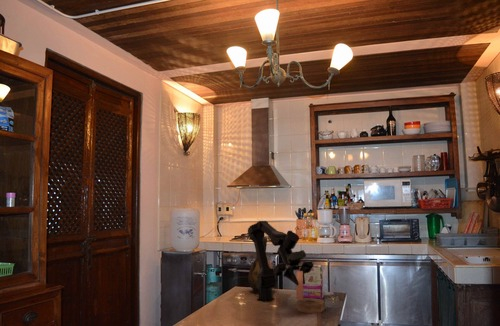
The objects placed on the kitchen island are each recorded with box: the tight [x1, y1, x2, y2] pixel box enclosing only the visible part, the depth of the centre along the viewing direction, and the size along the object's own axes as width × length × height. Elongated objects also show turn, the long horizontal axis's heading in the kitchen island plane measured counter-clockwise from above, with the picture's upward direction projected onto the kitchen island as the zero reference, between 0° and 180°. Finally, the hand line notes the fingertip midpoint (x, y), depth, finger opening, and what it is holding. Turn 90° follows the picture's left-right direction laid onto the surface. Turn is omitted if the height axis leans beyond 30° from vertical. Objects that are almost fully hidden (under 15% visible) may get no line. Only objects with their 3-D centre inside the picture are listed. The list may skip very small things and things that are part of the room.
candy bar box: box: [303, 264, 324, 300], centre depth 206 cm, size 11×5×16 cm, turn 73°
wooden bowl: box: [295, 298, 326, 314], centre depth 183 cm, size 12×12×4 cm
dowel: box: [295, 270, 304, 301], centre depth 174 cm, size 3×3×12 cm
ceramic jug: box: [247, 236, 277, 295], centre depth 221 cm, size 17×15×30 cm
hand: (301, 284), depth 173 cm, fingers closed on dowel, 3 cm apart
